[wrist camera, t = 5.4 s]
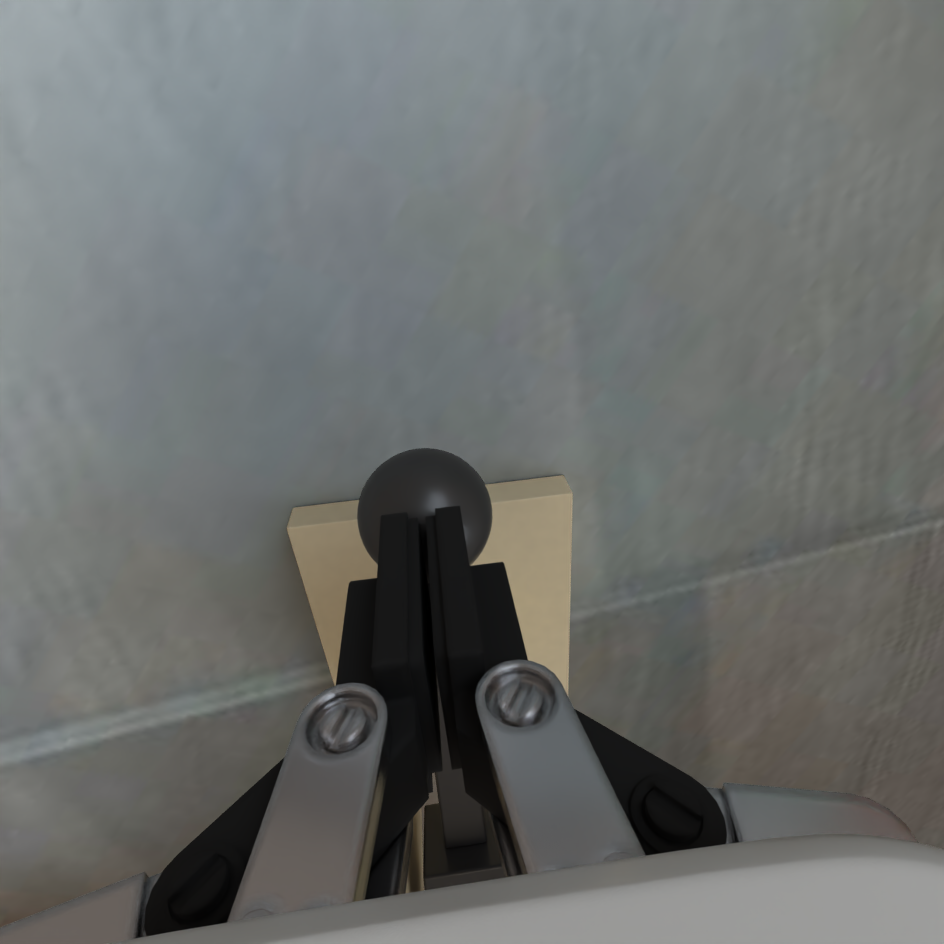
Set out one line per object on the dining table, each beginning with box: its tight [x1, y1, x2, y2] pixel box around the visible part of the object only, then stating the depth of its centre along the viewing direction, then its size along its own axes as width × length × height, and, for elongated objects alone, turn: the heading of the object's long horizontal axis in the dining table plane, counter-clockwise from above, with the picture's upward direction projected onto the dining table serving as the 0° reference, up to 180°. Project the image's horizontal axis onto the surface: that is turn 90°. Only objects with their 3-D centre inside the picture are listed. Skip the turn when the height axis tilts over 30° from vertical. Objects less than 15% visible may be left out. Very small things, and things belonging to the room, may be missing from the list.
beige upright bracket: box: [287, 475, 573, 893], centre depth 18 cm, size 12×10×12 cm
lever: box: [357, 448, 505, 890], centre depth 14 cm, size 13×3×3 cm, turn 5°
